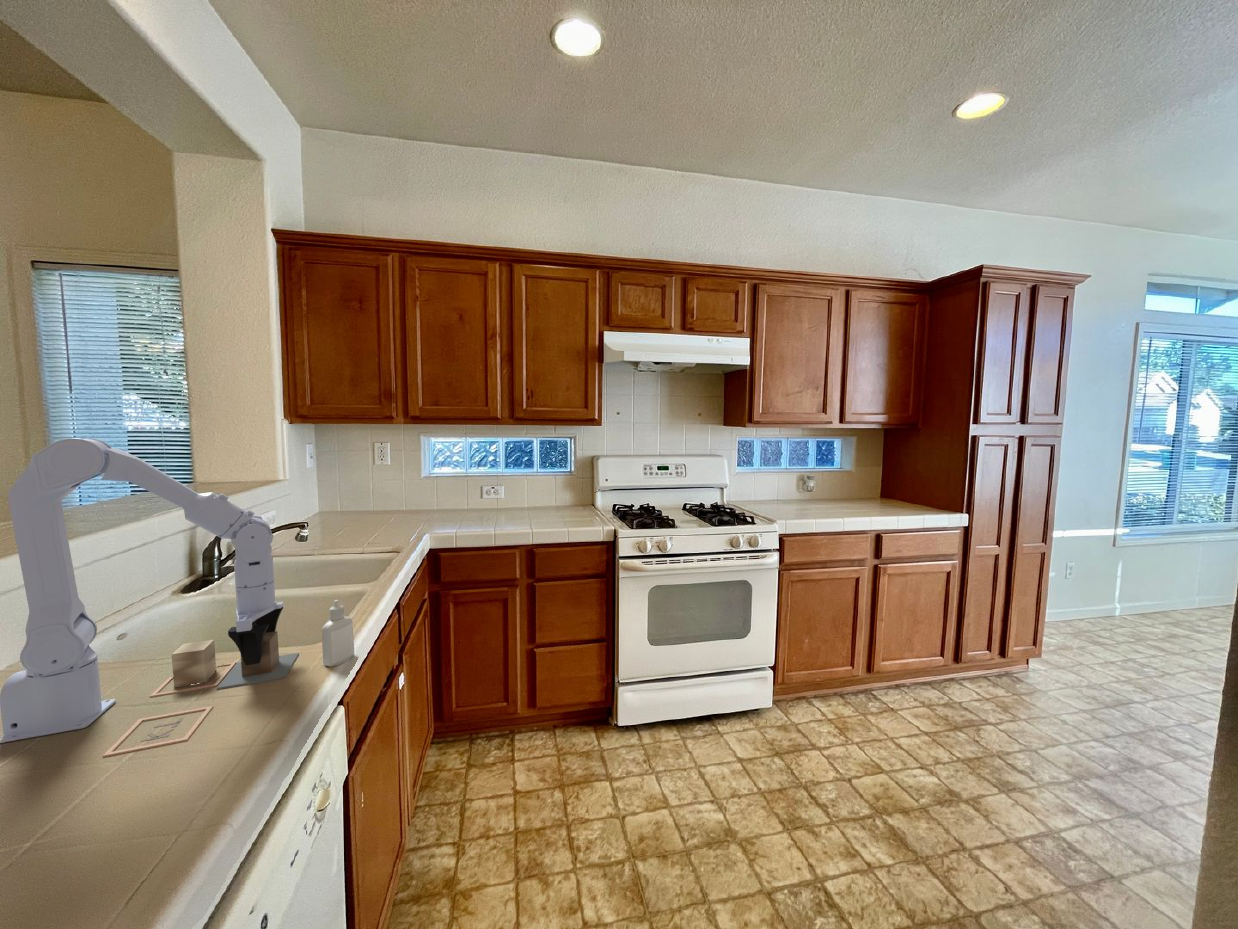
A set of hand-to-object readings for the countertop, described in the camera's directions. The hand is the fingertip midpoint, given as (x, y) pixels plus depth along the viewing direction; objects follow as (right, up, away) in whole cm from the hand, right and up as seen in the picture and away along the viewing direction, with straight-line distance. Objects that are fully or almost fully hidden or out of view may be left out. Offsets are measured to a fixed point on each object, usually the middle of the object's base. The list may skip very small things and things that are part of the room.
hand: (259, 654), depth 89 cm
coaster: (0, -3, 0) cm, 3 cm away
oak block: (-10, -3, -3) cm, 11 cm away
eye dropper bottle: (+12, -3, +4) cm, 13 cm away
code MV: (-10, -4, -3) cm, 11 cm away
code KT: (-1, -4, -18) cm, 18 cm away
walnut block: (0, -3, 0) cm, 3 cm away
